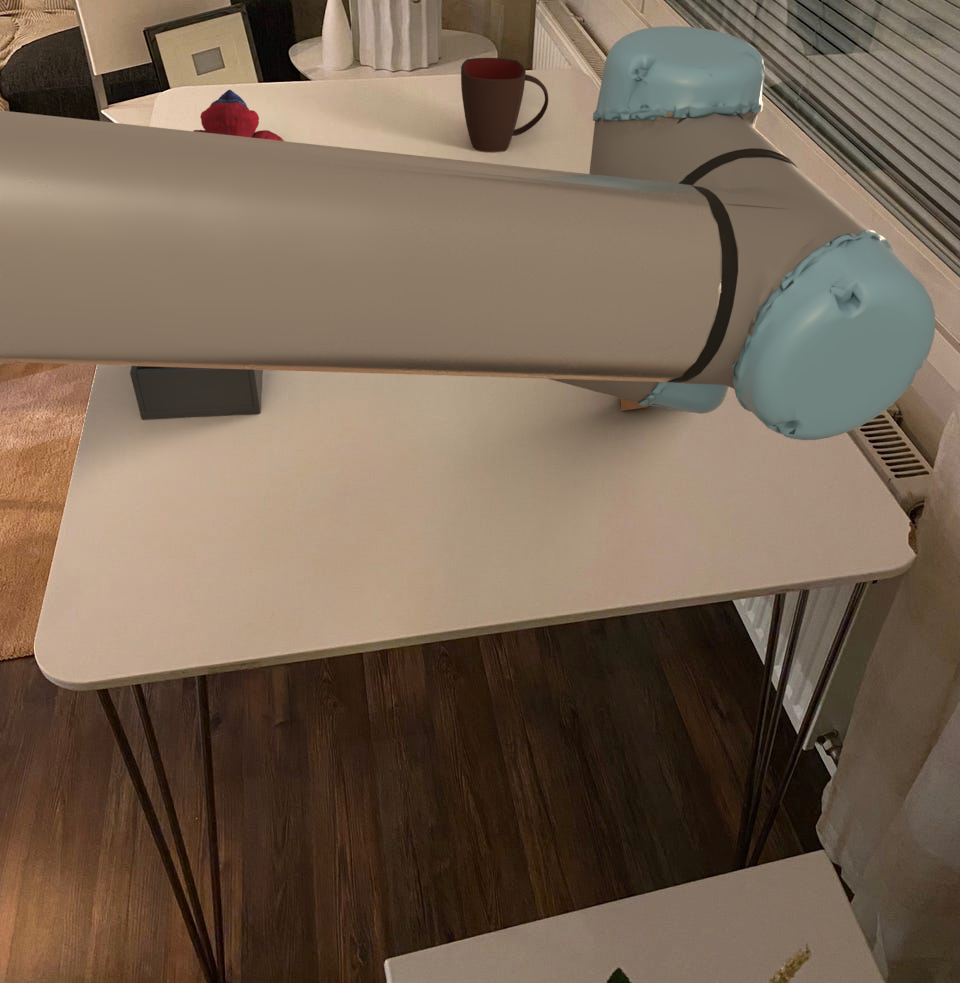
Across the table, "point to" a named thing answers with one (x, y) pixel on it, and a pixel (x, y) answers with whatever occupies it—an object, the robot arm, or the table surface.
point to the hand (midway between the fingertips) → (164, 224)
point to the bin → (196, 391)
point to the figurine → (233, 119)
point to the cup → (495, 101)
